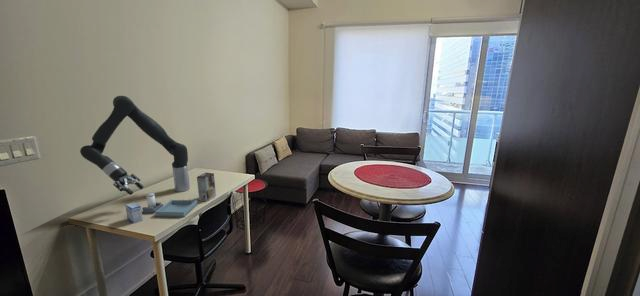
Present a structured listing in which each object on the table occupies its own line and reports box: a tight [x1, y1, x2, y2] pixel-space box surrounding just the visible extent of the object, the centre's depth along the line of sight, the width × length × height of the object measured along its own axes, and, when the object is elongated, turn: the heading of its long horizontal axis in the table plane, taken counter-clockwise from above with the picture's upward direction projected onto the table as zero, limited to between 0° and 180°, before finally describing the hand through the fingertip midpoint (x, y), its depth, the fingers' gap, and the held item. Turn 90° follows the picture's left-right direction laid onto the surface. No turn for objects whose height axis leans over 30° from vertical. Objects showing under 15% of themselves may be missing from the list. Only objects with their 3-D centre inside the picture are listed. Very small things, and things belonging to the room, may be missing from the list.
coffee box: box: [196, 172, 217, 202], centre depth 173 cm, size 9×6×16 cm
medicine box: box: [125, 202, 143, 224], centre depth 146 cm, size 8×4×9 cm, turn 56°
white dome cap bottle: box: [145, 192, 156, 209], centre depth 157 cm, size 4×4×10 cm
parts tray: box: [154, 199, 198, 218], centre depth 158 cm, size 16×16×3 cm
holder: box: [141, 201, 164, 214], centre depth 158 cm, size 8×7×3 cm
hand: (137, 190), depth 156 cm, fingers open, 8 cm apart
